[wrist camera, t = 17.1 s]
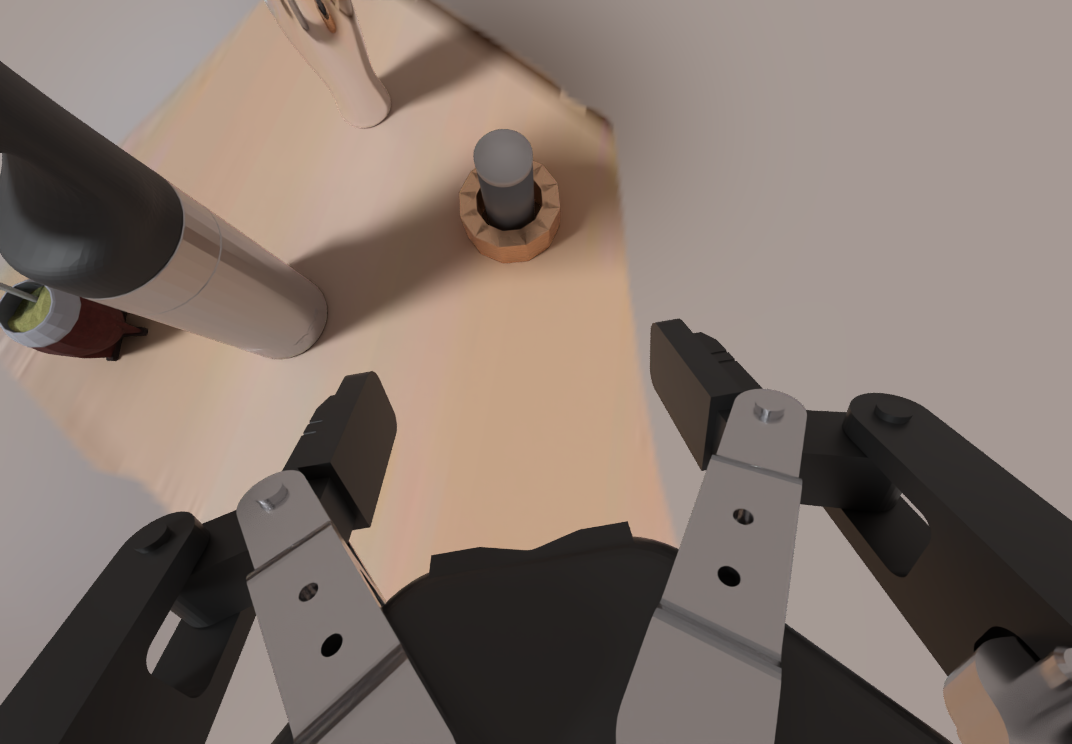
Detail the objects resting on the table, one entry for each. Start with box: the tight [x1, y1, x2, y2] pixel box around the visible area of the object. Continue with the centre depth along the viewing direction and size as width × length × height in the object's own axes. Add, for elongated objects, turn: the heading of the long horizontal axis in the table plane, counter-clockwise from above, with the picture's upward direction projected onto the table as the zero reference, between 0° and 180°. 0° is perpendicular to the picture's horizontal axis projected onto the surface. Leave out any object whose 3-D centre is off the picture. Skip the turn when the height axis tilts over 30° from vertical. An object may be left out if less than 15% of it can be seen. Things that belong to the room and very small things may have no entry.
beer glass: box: [264, 0, 391, 128], centre depth 40 cm, size 7×7×15 cm
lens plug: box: [473, 129, 535, 231], centre depth 39 cm, size 5×5×10 cm
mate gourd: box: [0, 279, 148, 361], centre depth 36 cm, size 8×8×15 cm
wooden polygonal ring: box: [459, 161, 560, 263], centre depth 43 cm, size 10×10×4 cm
